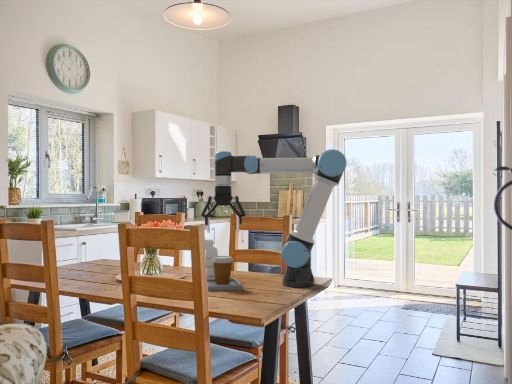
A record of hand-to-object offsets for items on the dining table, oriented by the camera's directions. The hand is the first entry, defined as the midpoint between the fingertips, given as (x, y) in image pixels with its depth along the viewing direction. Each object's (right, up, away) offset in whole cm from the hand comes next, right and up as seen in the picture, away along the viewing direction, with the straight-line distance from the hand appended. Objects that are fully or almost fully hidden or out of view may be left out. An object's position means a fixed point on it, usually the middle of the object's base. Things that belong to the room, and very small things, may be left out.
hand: (223, 232), depth 200 cm
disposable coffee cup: (0, -24, 0) cm, 24 cm away
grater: (-9, -25, +16) cm, 31 cm away
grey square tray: (-1, -25, 0) cm, 25 cm away
